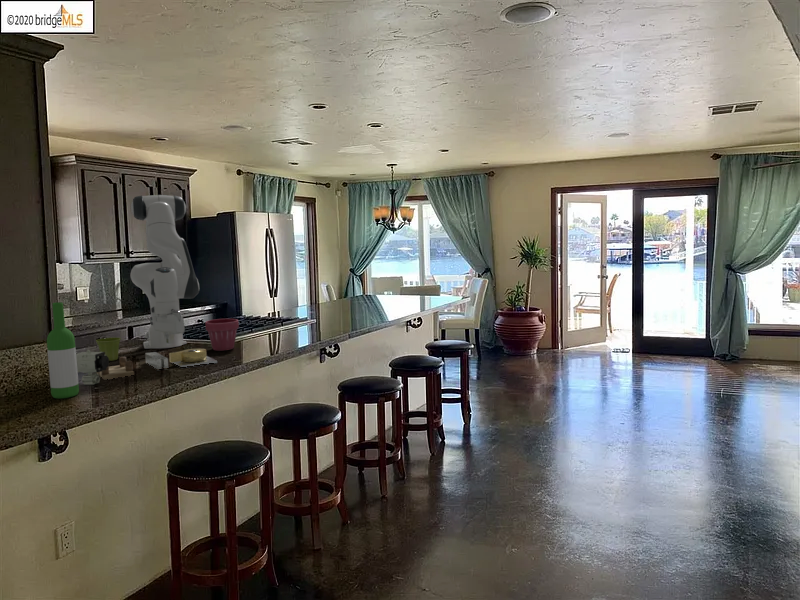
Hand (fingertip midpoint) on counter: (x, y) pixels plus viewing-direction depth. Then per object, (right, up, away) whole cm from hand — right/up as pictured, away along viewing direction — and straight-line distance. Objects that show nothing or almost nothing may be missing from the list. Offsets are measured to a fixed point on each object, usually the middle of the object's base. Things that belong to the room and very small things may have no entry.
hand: (169, 343), depth 235 cm
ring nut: (+7, -7, 0) cm, 10 cm away
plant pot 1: (-30, -8, +12) cm, 33 cm away
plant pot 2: (+12, -5, +31) cm, 34 cm away
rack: (-14, -10, -15) cm, 23 cm away
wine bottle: (-16, -14, -46) cm, 50 cm away
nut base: (+9, -8, +2) cm, 12 cm away
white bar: (-5, -9, -2) cm, 10 cm away
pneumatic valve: (-15, -12, -31) cm, 36 cm away
